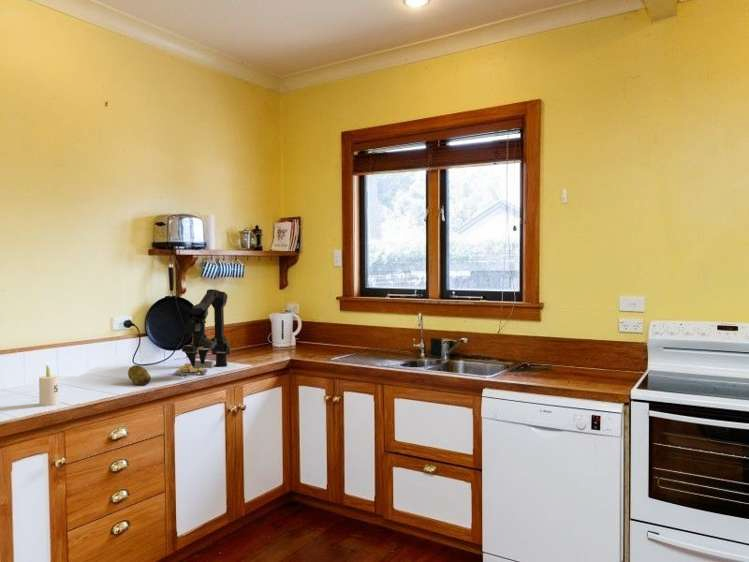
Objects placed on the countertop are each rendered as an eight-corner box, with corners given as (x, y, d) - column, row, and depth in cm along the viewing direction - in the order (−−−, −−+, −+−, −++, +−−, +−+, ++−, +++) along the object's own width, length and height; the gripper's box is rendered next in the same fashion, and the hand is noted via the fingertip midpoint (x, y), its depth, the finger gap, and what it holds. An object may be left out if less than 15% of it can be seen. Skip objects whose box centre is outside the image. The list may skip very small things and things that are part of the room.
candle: (50, 406, 216) (50, 367, 215) (35, 405, 217) (35, 366, 217) (62, 402, 222) (62, 364, 222) (47, 401, 223) (47, 363, 223)
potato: (132, 387, 250) (132, 369, 249) (126, 382, 260) (126, 364, 260) (152, 385, 254) (151, 367, 254) (145, 380, 265) (145, 363, 265)
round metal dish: (178, 370, 289) (178, 365, 289) (208, 369, 291) (208, 364, 291) (172, 376, 274) (172, 370, 274) (204, 375, 276) (204, 369, 276)
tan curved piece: (174, 371, 279) (174, 361, 278) (188, 367, 289) (187, 358, 289) (206, 373, 274) (206, 363, 274) (218, 369, 285) (218, 359, 285)
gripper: (202, 335, 264) (201, 368, 264) (223, 332, 282) (222, 363, 282) (181, 334, 267) (180, 367, 267) (203, 331, 285) (203, 362, 285)
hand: (198, 365), depth 275 cm, fingers open, 7 cm apart
